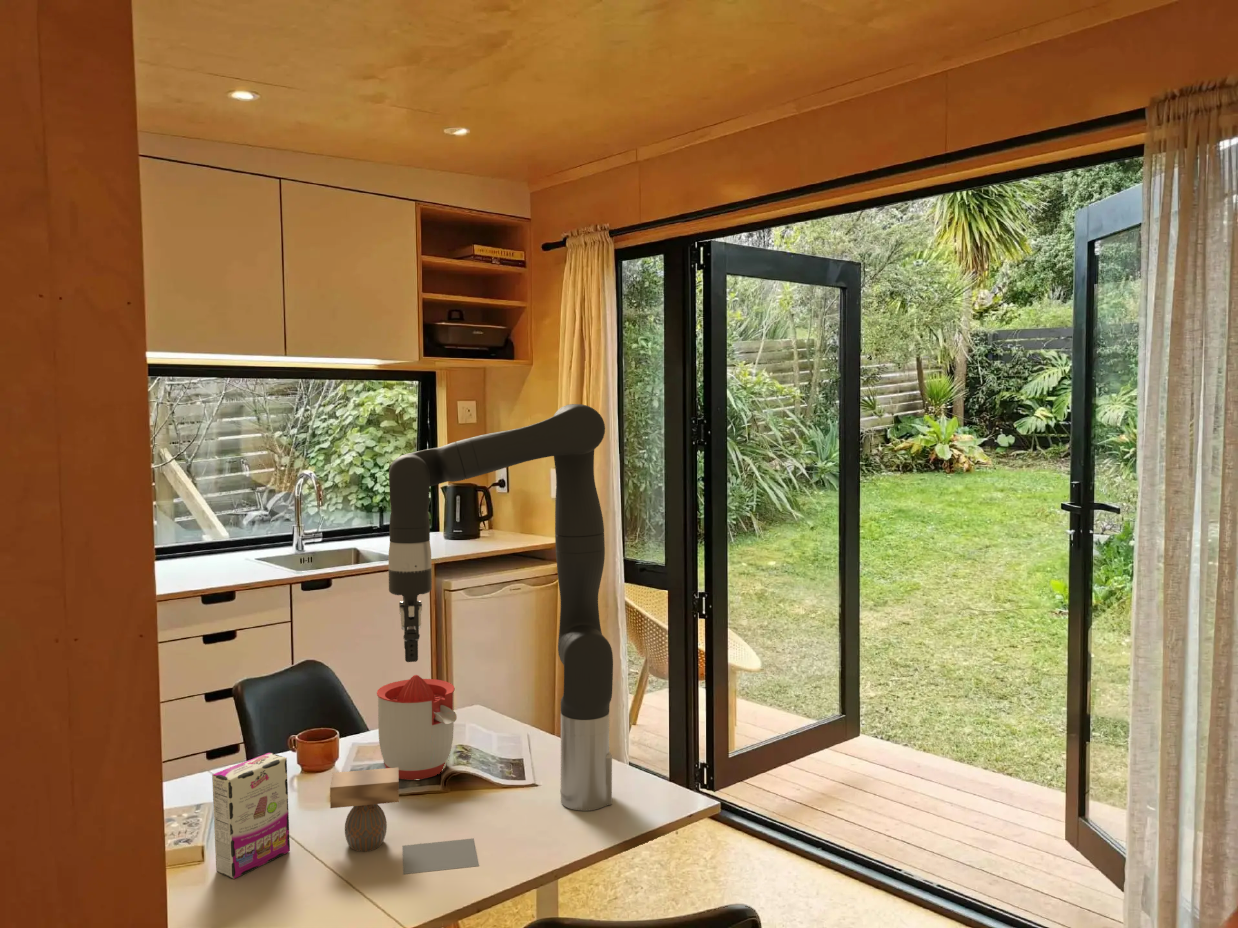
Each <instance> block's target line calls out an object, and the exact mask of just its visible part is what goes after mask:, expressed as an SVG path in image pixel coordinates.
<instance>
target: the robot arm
mask: <svg viewBox="0 0 1238 928" xmlns="http://www.w3.org/2000/svg"><path fill="white" fill-rule="evenodd" d="M605 432H606V425H605V422H604V419H603V417H602V416H601V414H600V412H598V411H597V410H596V409H595V408H593V407H591V406H589V405H585V404H582V403H581V404H580V403H579V404H578V403H570V404H566V405H563V406H561V407H559V409H557V410H556V412H555V413H554V414H553V416H551V417H549V418H546V419H544V420H542V421H539V422H536V423H533V424H530V425H526V426H523V427H517V428H514V429H509V430H502V431H496V432H491V433H486V434H481V435H476V436H473V437H469V438H464V439H461V440H457V441H453V442H450V443H448V444H445V445H442V446H439V447H433V448H428V449H423V450H418V451H413V452H409V453H405V454H402V455H399V456H397V457H396V458H395V459H394V460H393V461H392V462H391V465H390V466H389V470H388V483H389V499H390V500H389V501H390V514H389V515H390V516H389V546H388V547H389V549H388V556H387V557H388V591H389V593H390V594H391V595H395V596H402V601H399V602H398V605H399V609H398V611H399V615H400V627H401V630H402V631H403V646H404V647H403V648H404V660H405V662H407V663H412V662H413V663H415V662H418V660H419V640H420V636H421V634H420V632H419V630H420V629H421V628H422V616H421V615H422V613H423V604H422V600H418V596H420V595H425V594H428V593H430V592H431V591H432V587H433V585H432V583H433V582H432V578H433V577H432V573H433V572H432V571H433V570H432V548H431V533H430V532H431V529H430V528H431V527H430V524H431V523H430V515H429V503H430V487H433V486H437V485H440V484H443V483H448V482H451V483H452V482H453V483H454V482H460V481H464V480H467V479H472V478H475V477H479V476H483V475H485V474H489V473H493V472H496V471H499V470H503V469H506V468H508V467H509V468H510V467H512V466H515V465H519V464H522V463H526V462H530V461H535V460H539V459H540V460H541V459H544V458H550V457H553V461H554V469H555V503H554V504H555V505H554V506H555V508H554V511H555V512H554V514H555V515H554V517H555V518H554V524H555V525H554V535H555V536H554V537H555V538H554V540H555V541H554V542H555V559H556V571H557V579H558V580H557V581H558V586H559V587H558V589H559V596H560V598H559V599H560V612H559V615H560V616H559V627H558V628H559V629H558V631H559V632H558V642H557V643H558V644H557V652H558V657H559V660H560V661H561V663H562V665H563V693H562V696H561V699H560V793H559V794H560V803H561V806H563V807H566V808H568V809H570V810H575V811H594V810H599V809H601V808H603V807H606V806H610V805H613V757H612V755H613V754H612V753H611V752H610V705H611V701H612V697H613V685H614V684H613V683H614V682H613V680H614V676H613V675H614V655H613V648H612V646H611V643H610V641H608V639H607V638H606V637H605V636H604V635H603V633H602V628H601V620H600V611H599V594H600V593H599V591H600V587H601V586H600V585H601V581H602V578H603V577H602V576H603V572H604V566H605V559H606V558H605V554H606V548H605V546H606V545H605V543H606V542H605V523H604V517H603V513H602V508H601V507H602V506H601V503H600V499H599V496H598V491H597V487H596V482H595V467H594V466H595V450H596V448H597V447H599V446H600V444H601V443H602V442H603V439H604V437H605Z"/></svg>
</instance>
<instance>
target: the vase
mask: <svg viewBox="0 0 1238 928" xmlns="http://www.w3.org/2000/svg"><path fill="white" fill-rule="evenodd" d="M387 821H388V820H387V817H386V815H385V812H384V810H383V809H382V807H381V806H380V804H373V805H361V806H352V807H351V809H350V811H349V812H348V814H347V816H346V819H345V821H344V822H345V823H344V835H345V841H346V843H347V844H348V846H349V847H350V849H352V850H354V851H356V852H369V851H373V850H375V849H378V848H379V847H380V846H381V845H382V844H383V842H384V840H385V838H386V834H387V827H388V826H387V825H388V824H387V823H388V822H387Z"/></svg>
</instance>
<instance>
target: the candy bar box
mask: <svg viewBox="0 0 1238 928" xmlns="http://www.w3.org/2000/svg"><path fill="white" fill-rule="evenodd" d="M287 759H288V758H287V757H285V756H282V755H279V754H275V753H273V752H267V753H264V754H263V755H259V756H256V757H254V758H252V759H249V760H246V761H244V762H240V763H239V764H235V765H233V766H230V767H228V768H225V769H224V770H221V771H217V772H215V773H213V774H211V776H212V777H211V778H212V800H213V802H212V803H213V804H212V805H213V824H214V825H213V826H214V828H213V829H214V846H215V847H214V848H215V849H214V850H215V852H214V853H215V869H216V872H217V873H219V874H221V875H224V876H227V877H228V878H231V879H233V880H235V879H237V878H239V877H241V876H243V875H245V874H247V873H249V872H251V871H254V870H255V869H257V868H260V867H262V866H263V865H266V864H267V863H269V862H272V861H274V860H275V859H277V858H279V857H282V856H283V855H285V854H287V853H289V852H290V851H291V845H290V843H291V842H290V815H289V814H290V812H289V811H290V810H289V792H288V791H289V788H288V785H289V783H288V765H287V764H288V760H287Z"/></svg>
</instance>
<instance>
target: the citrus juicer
mask: <svg viewBox="0 0 1238 928" xmlns="http://www.w3.org/2000/svg"><path fill="white" fill-rule="evenodd" d="M455 689H456V687H455V686H454V685H453V683H451V682H448V681H445V680H441V679H435V678H433V679H432V678H422V677H421V676H420V675H418V674H414V675H412V677H410V678H409V679H404V680H398V681H393V682H390V683H387V684H385V685H383V686H381V687H379V689H377V692H376V696H377V709H378V710H377V712H378V715H377V716H378V717H377V720H378V743H379V747H380V753H381V756H382V759H383V764H384V767H385V768H398V767H399V779H400V780H410V781H412V780H413V781H415V780H414V779H421V780H423V779H428V778H432V777H435V776H437V774H438V775H440V774H441V773H442V772H443V771H442V769H443V766H444V764H445V760H446V759H447V757H448V756H449V757H450V755H451V751H452V748H453V747H452V746H453V740H454V730H455V729H454V727H455V726H454V725H455V724H454V723H455V722H456V721H457V716H458V715H457V714H456V712H455V711H454V691H455ZM449 754H450V755H449ZM441 771H442V772H441ZM440 772H441V773H440Z"/></svg>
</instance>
